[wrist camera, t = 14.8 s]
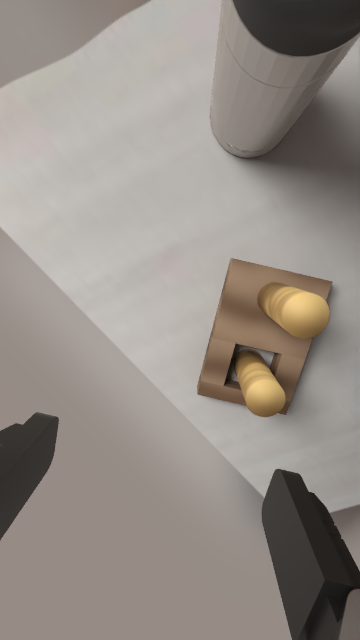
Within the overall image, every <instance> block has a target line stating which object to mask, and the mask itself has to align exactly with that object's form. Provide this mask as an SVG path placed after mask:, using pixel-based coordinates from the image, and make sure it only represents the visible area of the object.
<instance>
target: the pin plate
mask: <svg viewBox="0 0 360 640" xmlns="http://www.w3.org/2000/svg"><path fill="white" fill-rule="evenodd" d="M331 285H332V281H327V280H323V279H319V278H315V277H310V276H306V275H302V274H297V273H293V272H289V271H284V270H280V269H276V268H272V267H267V266H263V265H259V264H254V263H250V262H246V261H241V260H237V259H232V258H231V259H230V263H229V267H228V271H227V275H226V278H225V282H224V286H223V290H222V294H221V298H220V301H219V305H218V309H217V313H216V317H215V320H214V324H213V328H212V332H211V336H210V340H209V343H208V347H207V351H206V355H205V359H204V362H203V366H202V370H201V374H200V378H199V382H198V385H197V394H198V395H202V396H206V397H211V398H215V399H219V400H224V401H228V402H232V403H237V404H241V405H245V406H247V404H246V401H245V399H244V396H243V393H242V390H241V387H240V384H239V382H237V381H233V380H228V379H226V375H227V372H228V368H229V365H230V361H231V358H232V354H233V351H234V347H235V344H241V345H245V346H249V347H254V348H258V349H262V350H267V351H271V352H275V354H274V357H273V360H272V363H271V366H270V371H271V372H272V374H273V375H274V377H275V378H276V380H277V382H278V383H279V385H280V386H281V388H282V389H283V391H284V393H285V404H284V406H283V408H282V409H281V410H280V411H279V412H278V413H280V414H284V415H286V413H287V410H288V407H289V405H290V402H291V399H292V396H293V393H294V390H295V387H296V385H297V382H298V379H299V376H300V373H301V370H302V367H303V365H304V362H305V359H306V356H307V353H308V350H309V348H310V345H311V342H312V339H313V337H314V336H316V335H318V334H319V333H321V332H322V331H323V330H324V329H325V327H326V326H327V324H328V322H329V318H330V310H329V306H328V304H327V302H326V299H327V296H328V293H329V290H330V288H331Z"/></svg>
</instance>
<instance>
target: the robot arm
mask: <svg viewBox="0 0 360 640" xmlns="http://www.w3.org/2000/svg"><path fill="white" fill-rule="evenodd" d="M359 37H360V0H222V4H221V16H220V25H219V34H218V43H217V52H216V61H215V70H214V79H213V88H212V96H211V106H210V122H211V128H212V130H213V133H214V136H215V138H216V139H217V141H218V142H219V144H220V145H221V146H222V147H223V148H224V149H225V150H227V151H228V152H230V153H231V154H233V155H236V156H239V157H245V158H251V157H257V156H260V155H263V154H265V153H267V152H269V151H270V150H272V149H273V148H274V147H275V146H276V145H277V144H279V143H280V141H281V140H282V139H283V137H284V136H285V135H286V133H287V132H288V131H289V129H290V128H291V127H292V126H293V124H294V123H295V122H296V121H297V119H298V118H299V117H300V115H301V114H302V113H303V111H304V110H305V109H306V107H307V106H308V105H309V103H310V102H311V101H312V99H313V98H314V97H315V95H316V94H317V93H318V91H319V90H320V89H321V87H322V86H323V85H324V83H325V82H326V81H327V79H328V78H329V77H330V75H331V74H332V73H333V71H334V70H335V69H336V68H337V66H338V65H339V64H340V62H341V61H342V60H343V58H344V57H345V56H346V54H347V53H348V51H349V50H350V49H351V47H352V46H353V45H354V43H355V42H356V41H357V39H358V38H359ZM58 422H59V419H58V417H55V416H51V415H47V414H43V413H35V414H34V415H33V416H32V417H31V418H29V419H28V420H27V421H26V422H25V423H24V424H23V425H21V424H14V425H12V426H9V427H8V428H5V429H3V430H1V431H0V540H1V538H2V537H3V535H4V534H5V532H6V531H7V530H8V528H9V527H10V525H11V524H12V522H13V521H14V519H15V518H16V516H17V515H18V513H19V512H20V510H21V509H22V507H23V506H24V505H25V503H26V502H27V500H28V499H29V497H30V496H31V494H32V493H33V491H34V490H35V488H36V487H37V486H38V484H39V483H40V481H41V480H42V478H43V477H44V475H45V474H46V472H47V471H48V469H49V467H50V465H51V462H52V459H53V456H54V451H55V443H56V437H57V430H58ZM262 522H263V527H264V531H265V535H266V538H267V543H268V546H269V550H270V554H271V558H272V562H273V566H274V570H275V574H276V578H277V582H278V586H279V590H280V594H281V598H282V602H283V606H284V610H285V613H286V617H287V621H288V625H289V629H290V633H291V637H292V640H360V571H359V569H358V567H357V565H356V564H355V562H354V560H353V558H352V556H351V554H350V552H349V550H348V548H347V546H346V544H345V542H344V540H343V539H341V535H340V533H339V531H338V529H337V527H336V526H334V521H333V519H332V518H331V516H330V514H329V512H328V510H327V508H326V507H325V505H324V504H323V503H322V502H321V501H320V500H319V499H318V497H317V496H316V495H315V494H314V493H311V492H308V490H307V487H306V485H305V483H304V481H303V479H302V477H301V476H300V474H298V473H294V472H290V471H286V470H281V469H276V470H275V472H274V474H273V476H272V479H271V482H270V485H269V488H268V490H267V493H266V496H265V499H264V502H263V506H262Z"/></svg>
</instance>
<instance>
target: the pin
mask: <svg viewBox="0 0 360 640" xmlns="http://www.w3.org/2000/svg"><path fill="white" fill-rule="evenodd" d="M233 367H234V370H235V373H236V376H237V378H238V381H239V384H240V387H241V390H242V393H243V396H244V399H245V401H246V404H247V407H248V409H249V410H250V411H251V412H252V413H253V414H255V415H257V416H261V417H269V416H273V415H275V414H277V413H278V412H279V411H280V410H281V409H282V408H283V406H284V404H285V393H284V391H283V389H282V388H281V386H280V385H279V383H278V382H277V380H276V378H275V377H274V375H273V374H272V372H271V371H270V369H269V368H268V366H267V365H266V363H265V362H264V360H263V359H262V357H261V356H260V354H259V353H258V352H256V351H254V350H250V349H246V350H242V351H240V352H239V353H238V354H237V355H236V356H235V358H234V360H233Z"/></svg>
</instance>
